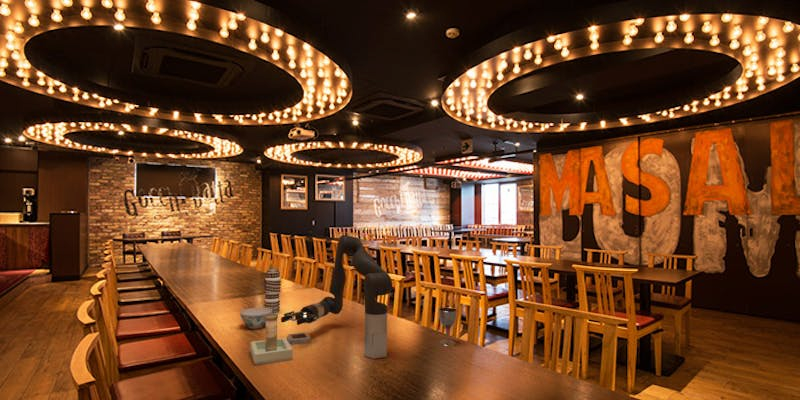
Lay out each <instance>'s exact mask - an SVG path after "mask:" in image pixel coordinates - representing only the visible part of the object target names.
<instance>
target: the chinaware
mask: <svg viewBox="0 0 800 400" xmlns="http://www.w3.org/2000/svg"><path fill="white" fill-rule="evenodd" d="M271 313H272V310H271V309H269V308H264V307H253V308H247V309H243V310H241V311H240V313H239V314H240V318H241V320H242V321H243V323H244V324H245V325H246V326H248V328H249V329H253V330H254V329H255V330H256V329H261V328H263V327H264V325H266V319H265V315H268V314H271Z"/></svg>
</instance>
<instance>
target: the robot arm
mask: <svg viewBox="0 0 800 400" xmlns="http://www.w3.org/2000/svg"><path fill="white" fill-rule="evenodd" d="M336 244H337V246H336V252H335V257H334V258H335V259H334V267H333V273H332V278H331V281H330V285H329V289H328V290H329V292H330V294H331V295H333V297H332V296H325V297H324V298H323V299H322V300H320V301H319V302H317V303H312V304H309V305H306V306H303V307H302V308H301V310H300V311H296V312H295V311H293V310H292V311H289V312H285V313H283V316H281V318H280V322H281V323H285V322H289V321H292V322H296V325H297V326H299V325H302V324H309V325H310V324H312V323H314V322H316V321H318V320H319V319H321V318H323V317H326V316H327V315H329V313H331V314H334V315H339V314H340V313H341V312H342V310H343V306H344V290H345V286H346V281H347V274H346V270H345V267H344V264H343V263H344V262H343V257H344V255H349V256H352V258H351V264H352V266H353V268H354V269H355V270H356V272H357V273H358V274H359V275H361V276H362V277H364V279H363V291H364V292H363V293H364V295H363V296H364V301H363V302H364V339H363V340H364V345H363V346H364V348H363V349H364V351H363V353H364V356H365V357H367V358H370V359H373V360H374V359H375V360H376V359H382V358H387V357H388V350H387V349H388V306H387V304H386V303H383V302H379V301H377V300H376V297H377V296H386V295H389V294H391V292H392V291H393V280H392V278H391V276H390V275H389V274H388V272H387V271H386V270H385V269H383V268H382V267H381V266H380V265H379V264H378V263H377V262H376V261H375V260H374V258H373V256H372V255H371V254H370V253H369V252H368V251H367V249H365V246H364V245H363V243H362V241H361V239H359V238H358V237H355V236H351V235H345V234H342V235H341V236H339V238H338V241H337V243H336Z"/></svg>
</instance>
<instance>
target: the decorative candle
mask: <svg viewBox="0 0 800 400" xmlns="http://www.w3.org/2000/svg"><path fill="white" fill-rule="evenodd" d="M280 273H281V271H280V270H279V269H278V268H268V269H267V270H266V271H265V279H264V283H263V284H264V285H263V286H264V295H265V298H264V302H263V303H264V304H263V306H264V307H263V308H269V309H271V310H272V313H271V314H277V315H278V316H279V315H280V311H281V310H280V309H281V307H280V305H281V303H280V302H281V301H280V300H281V299H280V293H281V290H280V289H281V285H282V281H281V277H280V276H281V275H280Z"/></svg>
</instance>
